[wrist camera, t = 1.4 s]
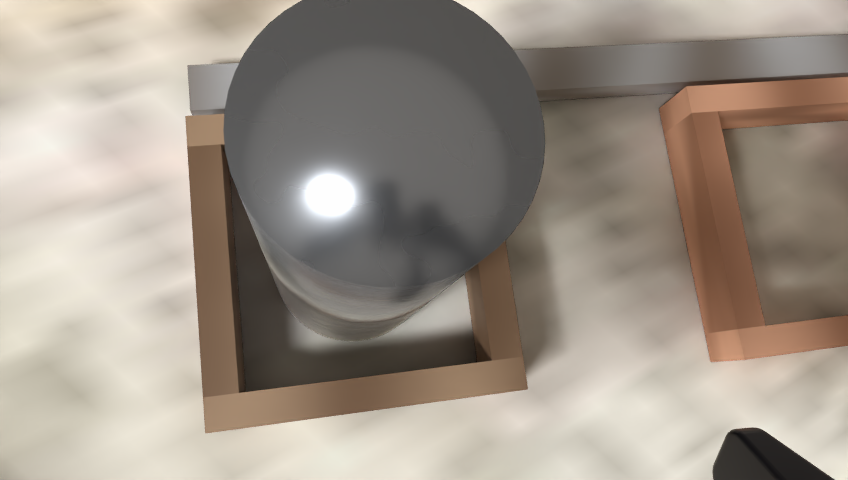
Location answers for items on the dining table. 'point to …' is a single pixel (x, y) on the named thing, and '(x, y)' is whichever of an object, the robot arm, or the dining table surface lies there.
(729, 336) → the socket rail
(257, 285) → the dining table surface
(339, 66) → the grey peg
